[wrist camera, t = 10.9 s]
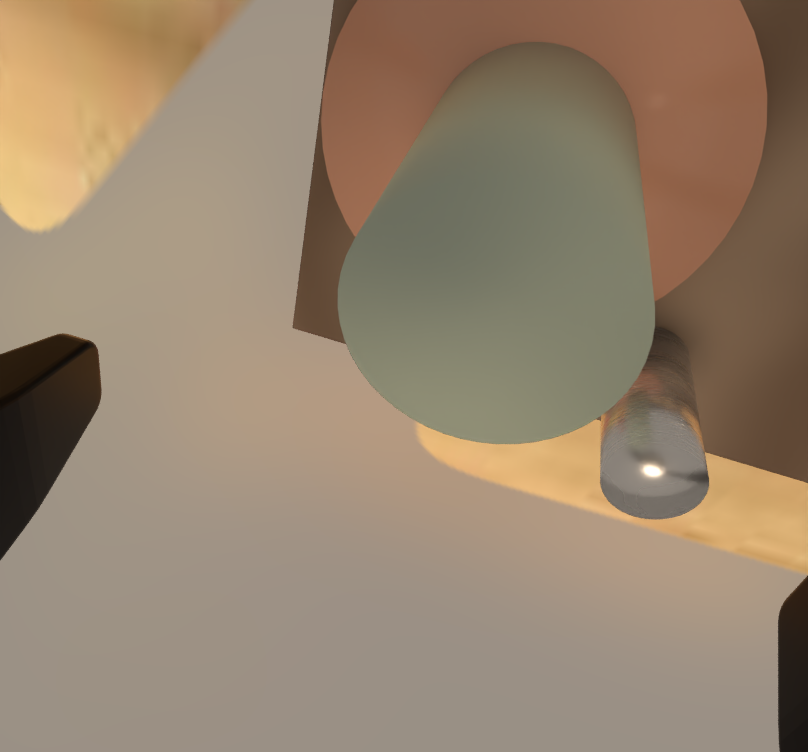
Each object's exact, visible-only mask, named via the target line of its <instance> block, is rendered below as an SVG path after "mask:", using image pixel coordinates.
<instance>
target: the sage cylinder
mask: <svg viewBox="0 0 808 752" xmlns="http://www.w3.org/2000/svg"><path fill="white" fill-rule="evenodd" d="M338 313H339V321H340V326H341V329H342V333H343V337H344V340H345V342H346V345H347V347H348V349H349V352H350V354H351V356H352V358H353V360H354V361H355V363H356V365H357V366H358V368H359V370H360V371H361V373H362V374H363V375H364V376H365V378H366V379H367V380H368V382H369V383H370V384H371V385H372V386H373V387H374V388H375V390H376V391H377V392H379V394H380V395H381V396H382V397H383V398H385V399H386V400H387V401H388V402H389V403H391V404H392V405H393V406H394V407H395V408H397V409H398V410H400V411H401V412H402V413H404V414H405V415H407V416H408V417H410V418H412V419H413V420H415V421H417V422H419V423H421V424H423V425H425V426H427V427H429V428H431V429H434V430H436V431H439V432H441V433H444V434H447V435H450V436H454V437H457V438H460V439H465V440H470V441H475V442H481V443H492V444H521V443H530V442H537V441H542V440H546V439H551V438H554V437H558V436H561V435H564V434H567V433H570V432H572V431H574V430H576V429H578V428H581V427H583V426H585V425H587V424H588V423H590V422H592V421H593V420H595V419H597V418H598V417H600V416H601V415H603V414H604V413H605V412H606V411H608V410H609V409H610V408H611V407H613V406H614V405H615V404H616V403H617V402H618V401H619V400H620V399H621V398H622V397H623V396H624V395H625V394H626V393H627V392H628V390H629V389H630V388H631V386H632V385H633V383H634V382H635V381H636V379H637V378H638V376H639V374H640V372H641V370H642V368H643V366H644V365H645V363H646V360H647V357H648V354H649V351H650V348H651V345H652V341H653V335H654V329H655V302H654V293H653V283H652V274H651V264H650V255H649V246H648V236H647V227H646V217H645V208H644V199H643V189H642V180H641V170H640V161H639V151H638V142H637V133H636V126H635V119H634V116H633V113H632V109H631V106H630V104H629V102H628V99H627V97H626V95H625V93H624V91H623V90H622V88H621V87H620V85H619V84H618V82H617V81H616V80H615V79H614V77H613V76H612V75H611V74H610V73H609V72H608V71H607V70H606V69H605V68H604V67H603V66H601V65H600V64H599V63H598V62H597V61H595V60H594V59H592V58H590V57H589V56H587V55H586V54H584V53H582V52H580V51H577V50H575V49H573V48H570V47H567V46H563V45H559V44H555V43H547V42H524V43H518V44H512V45H508V46H505V47H502V48H498V49H496V50H494V51H492V52H490V53H487V54H485V55H484V56H482V57H480V58H479V59H477V60H476V61H474V62H472V63H471V64H470V65H469V66H468V67H466V68H465V69H464V70H463V71H462V72H461V73H460V74H459V75H458V76H457V77H456V78H455V79H454V80H453V81H452V83H451V84H450V86H449V87H448V88H447V90H446V91H445V93H444V94H443V96H442V98H441V99H440V101H439V102H438V104H437V106H436V107H435V109H434V111H433V112H432V114H431V115H430V117H429V119H428V120H427V122H426V124H425V125H424V127H423V128H422V130H421V132H420V133H419V135H418V137H417V138H416V140H415V141H414V143H413V145H412V146H411V148H410V150H409V151H408V153H407V154H406V156H405V158H404V159H403V161H402V163H401V164H400V166H399V167H398V169H397V171H396V172H395V174H394V176H393V177H392V179H391V180H390V182H389V184H388V185H387V187H386V189H385V190H384V192H383V193H382V195H381V197H380V198H379V200H378V202H377V203H376V205H375V206H374V208H373V210H372V211H371V213H370V215H369V216H368V218H367V219H366V221H365V223H364V224H363V226H362V227H361V229H360V231H359V232H358V234H357V236H356V237H355V239H354V241H353V243H352V245H351V247H350V249H349V251H348V253H347V255H346V257H345V260H344V263H343V266H342V270H341V273H340V279H339V285H338Z"/></svg>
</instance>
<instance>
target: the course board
mask: <svg viewBox="0 0 808 752" xmlns="http://www.w3.org/2000/svg"><path fill="white" fill-rule="evenodd" d="M524 42H547V43H555V44H559V45H563V46H567V47H570V48H573V49H575V50H577V51H580V52H582V53H584V54H586V55H587V56H589V57H590V58H592V59H594V60H595V61H597V62H598V63H599V64H600V65H601V66H603V67H604V68H605V69H606V70H607V71H608V72H609V73H610V74H611V75H612V76H613V77H614V79H615V80H616V81H617V82H618V84H619V85H620V87H621V88H622V90H623V91H624V93H625V95H626V97H627V99H628V102H629V104H630V106H631V109H632V113H633V116H634V119H635V126H636V133H637V142H638V151H639V161H640V170H641V180H642V189H643V199H644V208H645V217H646V227H647V236H648V246H649V255H650V264H651V274H652V283H653V293H654V302H655V327H660V328H663V329H666V330H669V331H671V332H673V333H674V334H676V335H677V336H678V337H679V338H680V339H681V340H682V341H683V342H684V343H685V345H686V347H687V349H688V351H689V356H690V362H691V369H692V375H693V382H694V388H695V394H696V401H697V407H698V413H699V420H700V426H701V432H702V439H703V445H704V451H705V452H707V453H710V454H713V455H717V456H720V457H723V458H727V459H730V460H733V461H737V462H740V463H743V464H747V465H750V466H753V467H757V468H760V469H763V470H767V471H770V472H773V473H777V474H780V475H783V476H787V477H790V478H793V479H797V480H800V481H803V482H807V483H808V0H334V4H333V12H332V20H331V28H330V36H329V44H328V52H327V59H326V67H325V75H324V83H323V91H322V99H321V107H320V115H319V123H318V131H317V139H316V147H315V154H314V162H313V170H312V178H311V186H310V194H309V202H308V210H307V218H306V226H305V233H304V242H303V249H302V257H301V265H300V273H299V281H298V289H297V297H296V305H295V313H294V321H293V328H295V329H298V330H301V331H305V332H308V333H311V334H315V335H318V336H322V337H324V338H328V339H331V340H334V341H338V342H341V343H345V344H346V342H345V340H344V337H343V333H342V329H341V326H340V321H339V313H338V285H339V279H340V273H341V270H342V266H343V263H344V260H345V257H346V255H347V253H348V251H349V249H350V247H351V245H352V243H353V241H354V239H355V237H356V236H357V234H358V232H359V231H360V229H361V227H362V226H363V224H364V223H365V221H366V219H367V218H368V216H369V215H370V213H371V211H372V210H373V208H374V206H375V205H376V203H377V202H378V200H379V198H380V197H381V195H382V193H383V192H384V190H385V189H386V187H387V185H388V184H389V182H390V180H391V179H392V177H393V176H394V174H395V172H396V171H397V169H398V167H399V166H400V164H401V163H402V161H403V159H404V158H405V156H406V154H407V153H408V151H409V150H410V148H411V146H412V145H413V143H414V141H415V140H416V138H417V137H418V135H419V133H420V132H421V130H422V128H423V127H424V125H425V124H426V122H427V120H428V119H429V117H430V115H431V114H432V112H433V111H434V109H435V107H436V106H437V104H438V102H439V101H440V99H441V98H442V96H443V94H444V93H445V91H446V90H447V88H448V87H449V86H450V84H451V83H452V81H453V80H454V79H455V78H456V77H457V76H458V75H459V74H460V73H461V72H462V71H463V70H464V69H465V68H466V67H468V66H469V65H470V64H471V63H472V62H474V61H476V60H477V59H479V58H480V57H482V56H484V55H485V54H487V53H490V52H492V51H494V50H496V49H498V48H502V47H505V46H508V45H512V44H518V43H524ZM597 420H600V421H601V416H600V417H598V418H597Z"/></svg>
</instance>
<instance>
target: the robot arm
mask: <svg viewBox="0 0 808 752" xmlns="http://www.w3.org/2000/svg"><path fill="white" fill-rule="evenodd" d="M100 399H101V380H100V367H99V355H98V349H97V347H96V345H95V344H94V343H93V342H91V341H89V340H86V339H83V338H79V337H76V336H73V335H69V334H57V335H54V336H51V337H48V338H45V339H42V340H40V341H37V342H34V343H31V344H28V345H25V346H23V347H20V348H17V349H14V350H11V351H8V352H6V353H3V354H0V560H1V559H2V558H3V556H4V555H5V554H6V552H7V551H8V550H9V548H10V547H11V546H12V544H13V543H14V541H15V540H16V539H17V537H18V536H19V535H20V533H21V532H22V531H23V529H24V528H25V526H26V525H27V524H28V523H29V521H30V520H31V518H32V517H33V516H34V514H35V513H36V511H37V510H38V508H39V507H40V505H41V504H42V502H43V501H44V499H45V497H46V496H47V494H48V493H49V491H50V489H51V487H52V486H53V484H54V482H55V481H56V479H57V477H58V475H59V474H60V472H61V470H62V469H63V467H64V465H65V464H66V462H67V460H68V458H69V457H70V455H71V453H72V452H73V450H74V448H75V446H76V445H77V443H78V441H79V440H80V438H81V436H82V434H83V433H84V431H85V429H86V428H87V426H88V424H89V423H90V421H91V419H92V417H93V416H94V414H95V412H96V410H97V408H98V406H99V403H100ZM778 728H779V748H780V752H808V576H807V577H806V578H805V579H804V580H803V581H802V582H801V583H800V585H799V586H798V587H797V588H796V589H795V590H794V591H793V592H792V593H791V594H790V596H789V597H788V598H787V599H786V600H785V601H784V603H783V605H782V607H781V610H780V613H779V620H778Z"/></svg>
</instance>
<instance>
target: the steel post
mask: <svg viewBox="0 0 808 752" xmlns="http://www.w3.org/2000/svg"><path fill="white" fill-rule="evenodd" d="M600 483H601V488H602V491H603V493H604V495H605V497H606V498H607V500H608V501H609V502H610V503H611V504H612V505H613V506H615V507H616V508H617V509H619V510H621V511H622V512H624V513H627V514H629V515H632V516H635V517H639V518H645V519H667V518H672V517H676V516H680V515H682V514H685V513H687V512H689V511H690V510H692V509H693V508H695V507H696V506H697V505H698V504H700V503H701V501H702V500H703V499H704V497H705V496H706V494H707V491H708V487H709V477H708V471H707V464H706V458H705V451H704V445H703V439H702V432H701V426H700V420H699V413H698V407H697V401H696V394H695V388H694V382H693V375H692V369H691V362H690V356H689V351H688V349H687V347H686V345H685V343H684V342H683V341H682V340H681V339H680V338H679V337H678V336H677V335H676V334H674V333H673V332H671V331H669V330H666V329H663V328H660V327H655V329H654V335H653V341H652V345H651V348H650V351H649V354H648V357H647V360H646V363H645V365H644V366H643V368H642V370H641V372H640V374H639V376H638V378H637V379H636V381H635V382H634V383H633V385H632V386H631V388H630V389H629V390H628V392H627V393H626V394H625V395H624V396H623V397H622V398H621V399H620V400H619V401H618V402H617V403H616V404H615V405H614V406H613V407H611V408H610V409H609V410H608V411H606V412H605V413H604V414H603V415H601V473H600Z"/></svg>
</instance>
